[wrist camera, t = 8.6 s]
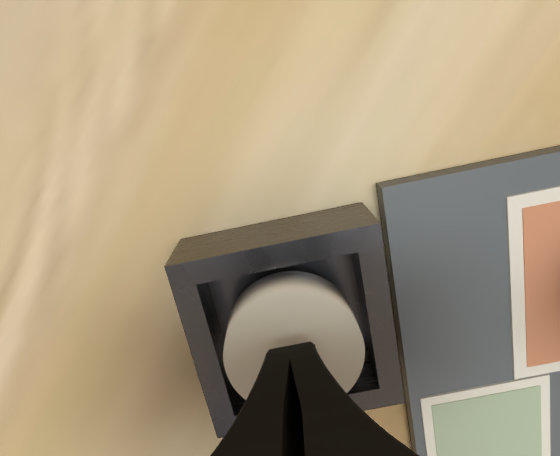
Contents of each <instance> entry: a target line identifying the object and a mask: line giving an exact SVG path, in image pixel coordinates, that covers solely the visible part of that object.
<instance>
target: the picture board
mask: <svg viewBox="0 0 560 456" xmlns="http://www.w3.org/2000/svg"><path fill="white" fill-rule="evenodd" d="M376 186H377V193H378V201H379V208H380V215H381V223H382V230H383V238H384V245H385V252H386V260H387V267H388V274H389V282H390V289H391V296H392V304H393V311H394V318H395V326H396V333H397V341H398V348H399V355H400V363H401V370H402V377H403V385H404V392H405V399H406V407H407V414H408V421H409V429H410V436H411V443H412V451H413V452H415V453H416V454H418V455H419V456H560V146H555V147H551V148H546V149H541V150H536V151H531V152H526V153H521V154H516V155H511V156H507V157H502V158H497V159H492V160H487V161H482V162H477V163H472V164H468V165H463V166H458V167H453V168H448V169H443V170H438V171H433V172H429V173H424V174H419V175H414V176H409V177H404V178H399V179H394V180H390V181H385V182H380V183H376Z"/></svg>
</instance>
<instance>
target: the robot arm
mask: <svg viewBox="0 0 560 456" xmlns="http://www.w3.org/2000/svg"><path fill="white" fill-rule="evenodd" d="M211 456H419V455H418V454H416V453H415V452H413V451H412V450H411V449H409V448H408V447H406V446H405V445H404V444H402V443H401V442H400V441H398V440H397V439H396V438H394V437H393V436H391V435H390V434H389V433H388V432H386V431H385V430H384V429H383V428H382V427H380V426H379V425H378V424H377V423H376V422H375V421H374V420H372V419H371V418H370V417H369V416H368V415H367V414H366V413H365V412H364V411H363V410H362V409H361V408H360V407H359V406H358V405H357V404H356V403H355V402H354V401H353V400H352V399H351V397H350V396H349V395H348V394H347V393H346V392H345V391H344V390H343V388H342V387H341V386H340V385H339V383H338V382H337V381H336V379H335V378H334V377H333V376H332V374H331V373H330V371H329V370H328V369H327V367H326V366H325V364H324V362H323V361H322V359H321V357H320V356H319V354H318V352H317V349H316V347H315V344H314V343H312V342H311V341H310V342H305V343H300V344H294V345H289V346H284V347H279V348H274V349H269V350H268V352H267V353H266V356H265V359H264V361H263V364H262V367H261V369H260V371H259V374H258V376H257V378H256V381H255V383H254V385H253V387H252V389H251V391H250V393H249V395H248V397H247V399H246V401H245V403H244V405H243V407H242V408H241V410H240V412H239V414H238V415H237V417H236V419H235V421H234V422H233V424H232V426H231V427H230V429H229V430H228V432H227V433H226V435H225V436H224V438H223V439H222V441H221V442H220V444H219V445H218V446H217V448H216V449H215V451H214V452H213V453H212V454H211Z"/></svg>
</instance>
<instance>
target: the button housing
mask: <svg viewBox="0 0 560 456" xmlns="http://www.w3.org/2000/svg"><path fill="white" fill-rule="evenodd" d="M164 267H165V270H166V273H167V276H168V280H169V283H170V286H171V289H172V293H173V296H174V299H175V302H176V305H177V309H178V312H179V315H180V318H181V322H182V325H183V328H184V331H185V334H186V338H187V341H188V344H189V347H190V351H191V354H192V357H193V360H194V363H195V367H196V370H197V373H198V376H199V380H200V383H201V386H202V389H203V392H204V396H205V399H206V402H207V405H208V409H209V412H210V415H211V418H212V421H213V425H214V428H215V431H216V434H217V438H221V437H224V436H225V435H226V433H227V432H228V430H229V429H230V427H231V426H232V424H233V422H234V421H235V419H236V417H237V415H238V414H239V412H240V410H241V408H242V407H243V405H244V403H245V401H246V400H245V399H244V398H243V397H242V396H241V395H240V394H239V393H238V392H237V391H236V390H235V389H234V387H233V386H232V385H231V383H230V381H229V379H228V377H227V374H226V371H225V368H224V363H223V350H224V343H225V337H226V331H227V325H228V319H229V315H230V312H231V310H232V307H233V305H234V303H235V302H236V300H237V298H238V297H239V296H240V295H241V293H242V292H243V291H244V290H245V289H246V288H247V287H248V286H250V285H251V284H253V283H254V282H255V281H257V280H259V279H261V278H263V277H265V276H268V275H270V274H274V273H278V272H285V271H301V272H307V273H312V274H315V275H317V276H320V277H322V278H324V279H326V280H328V281H329V282H331V283H332V284H334V285H335V286H336V287H337V288H338V289H339V290H340V291H341V292H342V293H343V294H344V295H345V297H346V298H347V300H348V302H349V303H350V306H351V308H352V311H353V313H354V316H355V318H356V321H357V323H358V326H359V328H360V331H361V333H362V336H363V340H364V346H365V359H364V364H363V368H362V371H361V373H360V376H359V378H358V379H357V381H356V383H355V384H354V386H353V387H352V388H351V389H350V391H349V392H348V393H347V394H348V395H349V396H350V397H351V399H352V400H353V401H354V402H355V403H356V404H357V405H358V406H359V407H360V408H361V409H362V410H363V411H365V410H370V409H375V408H381V407H386V406H391V405H397V404H402V403H405V400H404V393H403V385H402V378H401V371H400V363H399V356H398V349H397V342H396V334H395V327H394V320H393V312H392V305H391V298H390V290H389V283H388V276H387V268H386V261H385V254H384V247H383V239H382V232H381V225H380V222H379V221H378V220H377V219H376V218H375V217H374V215H373V214H372V213H371V212H370V211H369V210H368V209H367V207H366V206H365V205H364V204H363V203H357V204H352V205H347V206H342V207H337V208H332V209H327V210H323V211H318V212H313V213H308V214H303V215H298V216H293V217H288V218H283V219H278V220H273V221H269V222H264V223H259V224H254V225H249V226H244V227H239V228H234V229H229V230H224V231H219V232H215V233H210V234H205V235H200V236H195V237H190V238H185V239H181V240H180V241H179V243H178V245H177V246H176V248H175V250H174V251H173V253H172V255H171V256H170V258H169V260H168V261H167V263H166V265H165V266H164Z"/></svg>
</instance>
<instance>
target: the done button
mask: <svg viewBox="0 0 560 456" xmlns="http://www.w3.org/2000/svg"><path fill="white" fill-rule="evenodd" d="M310 341H311V342H312V343H314V344H315V347H316V349H317V352H318V354H319V356H320V357H321V359H322V361H323V362H324V364H325V366H326V367H327V369H328V370H329V371H330V373H331V374H332V376H333V377H334V378H335V379H336V381H337V382H338V383H339V385H340V386H341V387H342V388H343V390H344V391H345V392H346V393H348V392H349V391H350V389H351V388H352V387H353V386H354V384H355V383H356V381H357V379H358V378H359V376H360V373H361V371H362V368H363V364H364V359H365V346H364V340H363V336H362V333H361V331H360V328H359V326H358V323H357V321H356V318H355V316H354V313H353V311H352V308H351V306H350V303H349V302H348V300H347V298H346V297H345V295H344V294H343V293H342V292H341V291H340V290H339V289H338V288H337V287H336V286H335V285H334V284H332V283H331V282H329V281H328V280H326V279H324V278H322V277H320V276H317V275H315V274H312V273H307V272H301V271H285V272H278V273H274V274H270V275H268V276H265V277H263V278H261V279H259V280H257V281H255V282H254V283H253V284H251V285H250V286H248V287H247V288H246V289H245V290H244V291H243V292H242V293H241V295H240V296H239V297H238V298H237V300H236V302H235V303H234V305H233V307H232V310H231V312H230V315H229V319H228V325H227V331H226V337H225V343H224V350H223V363H224V368H225V371H226V374H227V377H228V379H229V381H230V383H231V385H232V386H233V387H234V389H235V390H236V391H237V392H238V393H239V394H240V395H241V396H242V397H243V398H244V399H245V400H246V399H247V397H248V395H249V393H250V391H251V389H252V387H253V385H254V383H255V381H256V378H257V376H258V374H259V371H260V369H261V367H262V364H263V361H264V359H265V356H266V353H267V352H268V350H269V349H274V348H279V347H284V346H289V345H294V344H300V343H305V342H310Z"/></svg>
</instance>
